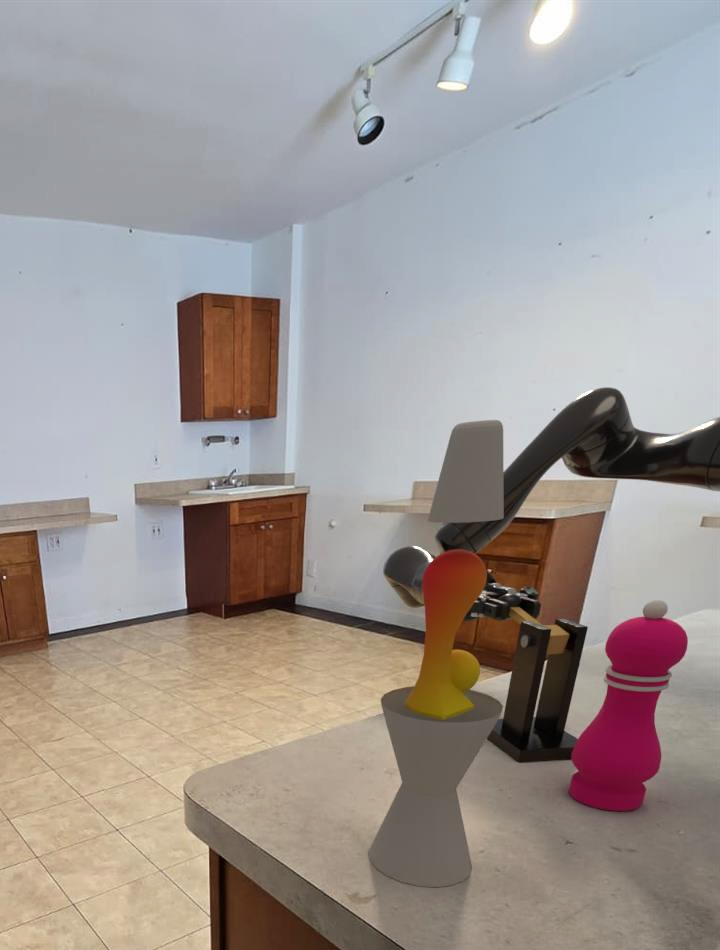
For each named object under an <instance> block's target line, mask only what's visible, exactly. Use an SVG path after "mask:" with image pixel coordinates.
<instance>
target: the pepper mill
mask: <svg viewBox="0 0 720 950" xmlns="http://www.w3.org/2000/svg"><path fill="white" fill-rule="evenodd" d="M668 609H669V607H668V604H667V603H666V602H665V601H663V600H662V599H653V600H650V601H648V602H647V603H645V604H644V606H643V608H642V615H643V616H637V617H633V618H629V619H626V620H624V621H623V622H621V623H619V624H618V625H616V626H615V627H614V628H613V630H612V631H611V632H610V633H609V635H608V637H607V639H606V641H605V647H604V648H605V654H606V656H607V658H608V660H609V661H610V663H611V665H609V666H607V667H606V668H605V672H606V673H605V676H604V677H603V682H604V683H605V684H606V685H607V687H606V694H605V697H604V700H603V703H602V706H601V708H600V709H599V711H598V713H597V715H596V716H595V717H594V718H593V719H592V721H591V722H590V723H589V724H588V725H587V727H586V728H585V729H584V730H583V731H582V732H581V734H580V735H579V736H578V738H577V739H578V740H577V742H576V743H575V746H574V749H573V752H572V759H571V762H572V764H573V766H574V767H575V768H576V770H577V772H575V773H573V774H572V775H571V778H570V784H569V787H568V793H569V794H570V796H571V797H572V798H573V799H574V800H576V801H578V802H580V803H581V804H583V805H585V806H589V807H592V808H595V809H599V810H606V811H614V812H628V811H633V810H636V809H639V808H640V807H641V806H642V805H643V802H644V799H645V797H646V793H647V787H646V785H645V784H644V783H645V782H647V781H650V780H651V779H652V778H654V777H655V776H656V775H657V774H658V773H659V770H660V768H661V763H662V748H661V743H660V739H659V736H658V732H657V729H656V724H655V722H656V719H655V715H656V709H657V704H658V700H659V698H660V696H661V693H662V691H664V690H667V689H668V688H669V687H670V682H669V681H670V680H671V678H672V677H673V674H672V672H671V671H670V669H671V668H673V667H674V666H676V665H677V664H678V663H680V662H681V661H682V659H683V658H684V657H685V655H686V653H687V651H688V644H689V640H688V639H689V638H688V635H687V632H686V630H685V629H684V627H683V626H682V625H680V624H679V623H678V622H676V621H674V620H673V619H669V618H666V617H664V616H666V615H667V613H668Z"/></svg>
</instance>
